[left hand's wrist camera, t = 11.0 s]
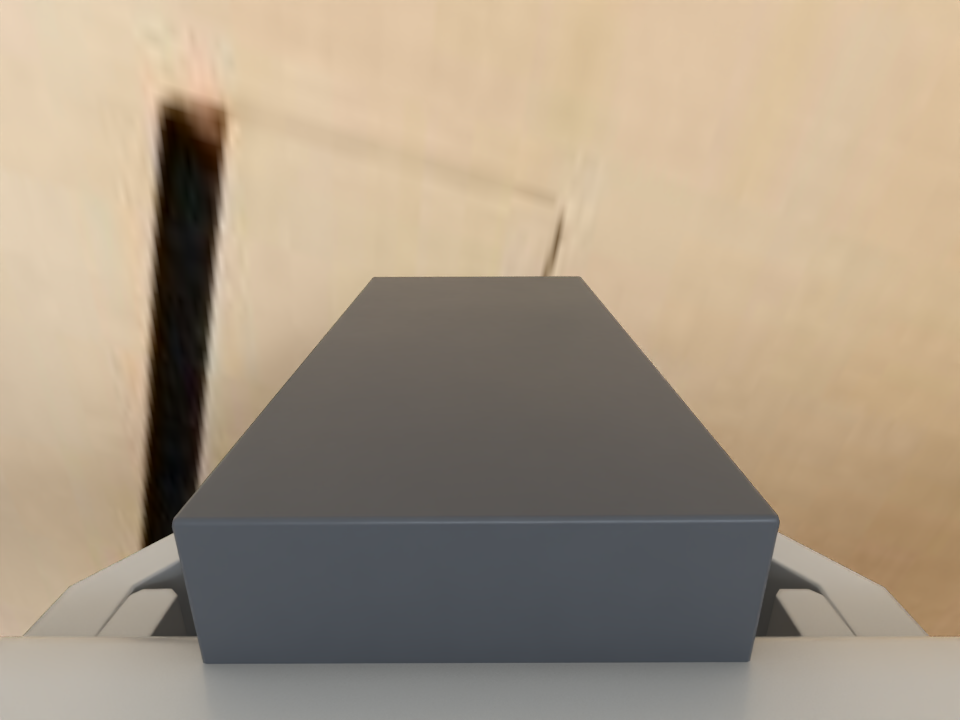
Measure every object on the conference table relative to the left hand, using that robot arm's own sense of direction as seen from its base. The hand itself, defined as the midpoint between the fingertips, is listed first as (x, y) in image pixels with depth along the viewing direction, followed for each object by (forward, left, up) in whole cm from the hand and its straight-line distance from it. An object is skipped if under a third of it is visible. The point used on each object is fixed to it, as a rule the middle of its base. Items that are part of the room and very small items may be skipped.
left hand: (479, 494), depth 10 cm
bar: (+2, +10, -4) cm, 11 cm away
